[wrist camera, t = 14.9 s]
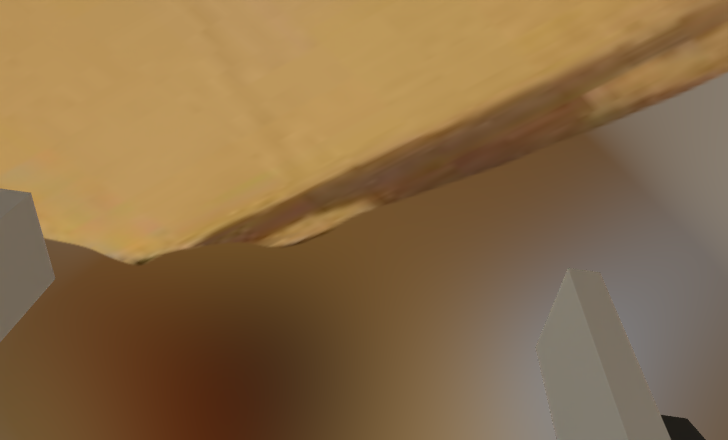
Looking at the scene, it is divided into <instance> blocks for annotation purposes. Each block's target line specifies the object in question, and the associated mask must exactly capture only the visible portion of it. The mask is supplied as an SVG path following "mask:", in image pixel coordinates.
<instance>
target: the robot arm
mask: <svg viewBox="0 0 728 440" xmlns="http://www.w3.org/2000/svg"><path fill="white" fill-rule="evenodd" d="M54 280H55V276H54V273H53V269H52V266H51V262H50V259H49V255H48V252H47V248H46V245H45V241H44V238H43V234H42V231H41V227H40V224H39V220H38V217H37V213H36V210H35V206H34V203H33V199H32V196H31V193H28V192H21V191H14V190H7V189H0V341H1V340H2V339H3V338H4V337H5V336H6V335H7V334H8V332H9V331H10V330H11V329H12V328H13V327H14V326H15V324H16V323H17V322H18V321H19V320H20V319H21V318H22V316H23V315H24V314H25V313H26V312H27V311H28V309H29V308H30V307H31V306H32V305H33V304H34V302H35V301H36V300H37V299H38V298H39V297H40V296H41V295H42V293H43V292H44V291H45V290H46V288H48V287H49V285H50V284H51V283H52V282H53V281H54ZM536 351H537V356H538V360H539V365H540V369H541V373H542V377H543V382H544V387H545V391H546V395H547V400H548V404H549V409H550V413H551V417H552V421H553V425H554V430H555V435H556V439H557V440H705V439H704V437H703V436H702V435H701V434H700V433H699V432H698V431H697V429H696V428H695V427H694V426H693V425H692V424H691V423H690V422H689V420H688V419H685V418H679V417H672V416H665V415H660V413H659V410H658V408H657V405H656V403H655V401H654V398H653V396H652V394H651V391H650V389H649V387H648V384H647V382H646V380H645V377H644V375H643V372H642V370H641V368H640V365H639V363H638V361H637V358H636V356H635V354H634V351H633V349H632V347H631V344H630V342H629V340H628V337H627V335H626V332H625V330H624V328H623V325H622V323H621V321H620V318H619V316H618V314H617V311H616V309H615V307H614V304H613V302H612V300H611V297H610V295H609V292H608V290H607V288H606V285H605V283H604V281H603V278H602V276H601V274H600V273H599V272H593V271H585V270H578V269H571V268H568V270H567V272H566V275H565V277H564V280H563V282H562V285H561V287H560V289H559V291H558V294H557V296H556V299H555V301H554V304H553V306H552V309H551V311H550V313H549V316H548V318H547V321H546V323H545V326H544V328H543V330H542V333H541V335H540V338H539V340H538V342H537V345H536Z"/></svg>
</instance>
